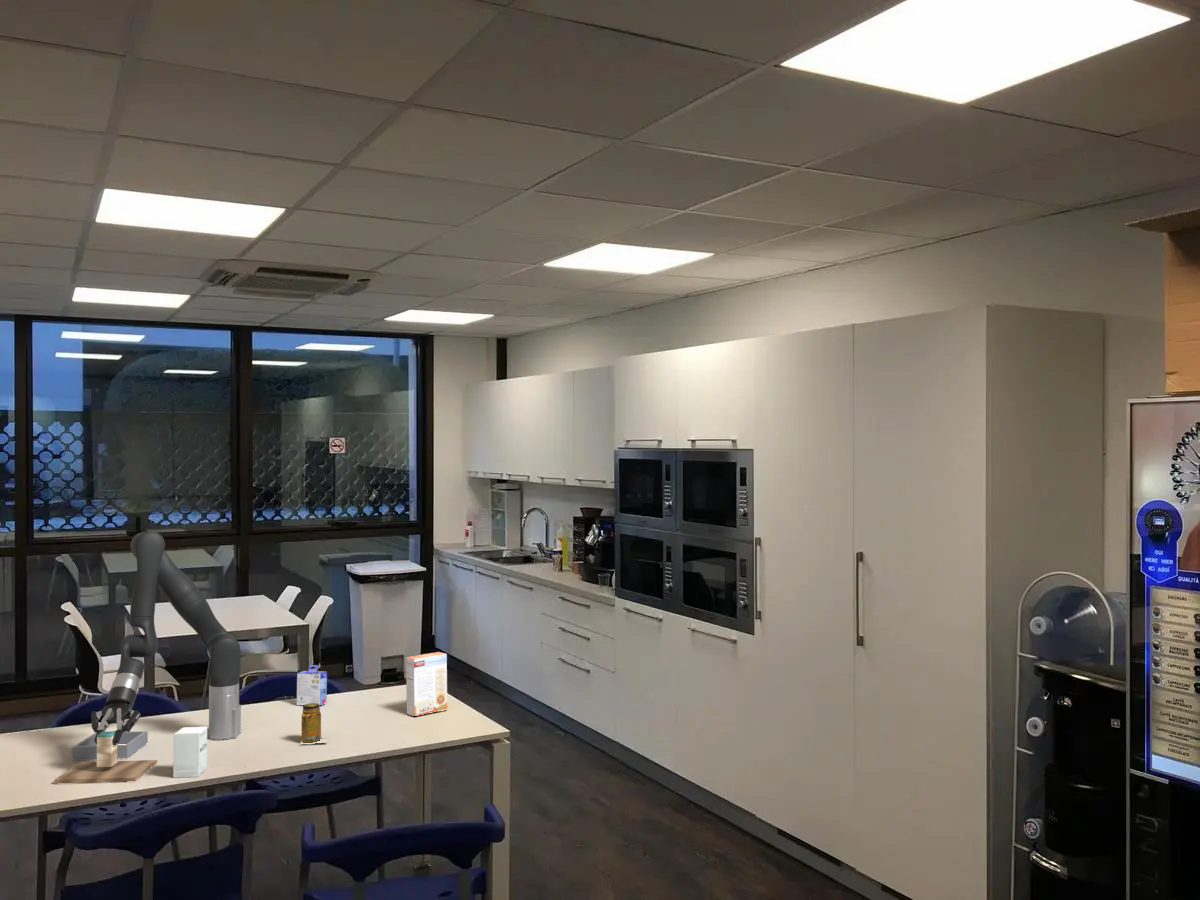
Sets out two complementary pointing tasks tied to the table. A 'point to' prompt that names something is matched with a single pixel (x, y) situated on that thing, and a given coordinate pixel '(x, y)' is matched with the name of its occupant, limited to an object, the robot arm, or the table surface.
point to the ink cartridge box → (312, 686)
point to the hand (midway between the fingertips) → (105, 743)
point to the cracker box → (426, 683)
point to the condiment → (311, 723)
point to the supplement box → (190, 752)
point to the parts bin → (131, 739)
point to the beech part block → (106, 749)
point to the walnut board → (106, 772)
